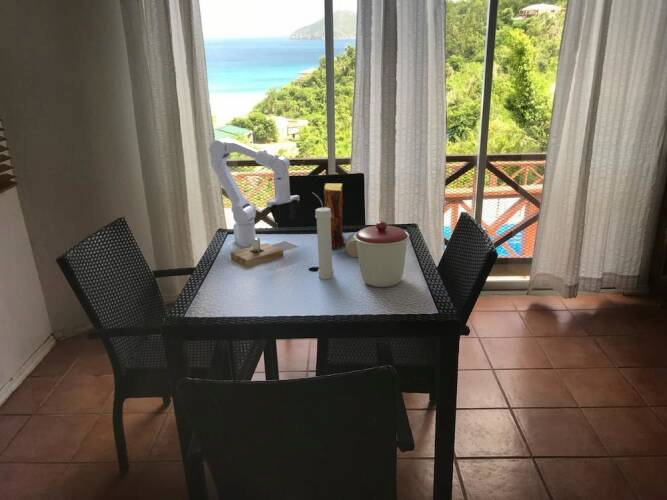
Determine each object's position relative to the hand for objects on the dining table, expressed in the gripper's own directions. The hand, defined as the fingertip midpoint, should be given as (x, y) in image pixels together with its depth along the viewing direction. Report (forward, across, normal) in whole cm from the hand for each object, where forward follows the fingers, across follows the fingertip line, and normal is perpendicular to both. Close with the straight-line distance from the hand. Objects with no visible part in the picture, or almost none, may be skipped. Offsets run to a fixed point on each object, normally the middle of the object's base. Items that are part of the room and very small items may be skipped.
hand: (284, 220), depth 223 cm
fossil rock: (+11, +16, -12) cm, 23 cm away
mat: (+10, -3, -1) cm, 11 cm away
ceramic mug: (+11, +14, -30) cm, 34 cm away
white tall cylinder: (+11, -10, -38) cm, 41 cm away
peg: (+10, -17, -5) cm, 21 cm away
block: (+10, -17, -5) cm, 21 cm away
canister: (+11, +1, -55) cm, 56 cm away
